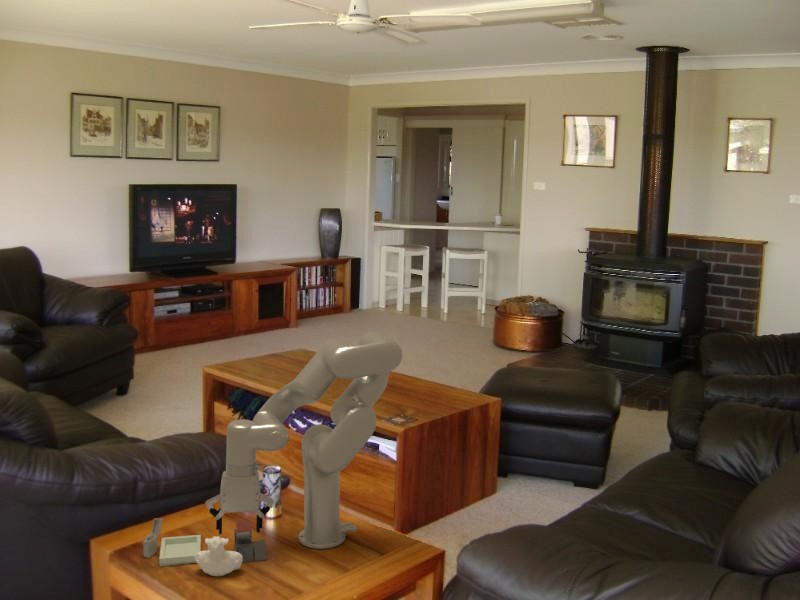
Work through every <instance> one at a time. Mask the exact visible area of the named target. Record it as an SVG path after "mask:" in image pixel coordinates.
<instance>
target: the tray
mask: <svg viewBox="0 0 800 600" xmlns="http://www.w3.org/2000/svg"><path fill="white" fill-rule="evenodd" d="M201 537H202V535H201V534H194V535H181V536H180V535H179V536H169V537H161V543H160V549H159V550H160V551H159V558H158V559H159V560H158V561H159V567H169V566H171V565H172V566H180V565H179V564H184V565H191V564H190V563H196V564H198V563H197V562H196V560H195V558H194V556H195V554H196V553H198V552H200V551H202V550H201V549H202V538H201ZM172 566H171V567H172Z"/></svg>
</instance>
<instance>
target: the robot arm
mask: <svg viewBox="0 0 800 600" xmlns="http://www.w3.org/2000/svg"><path fill="white" fill-rule="evenodd" d="M402 360H403V350H402V348H401V346H400V344H399V343H398V342H397V341H395V340H393V339H392V338H390V337H388V336H386V335H385V334H383V333H381V332H379V331H378V332H377V331H367V332H366V333H364V334H363V335H362V337H361V338H360V339H359V342H358V344H357V345H350V344H348V343H346V342H344V341H342V340H339V339H329V340H328V341H326V342H325V343H324V344H323V345H322V346H321V347H320V348H319V349H318V350H317V352H316V353H315V354H314V355H313V356H312V358H311V359H310V360H309V361H308V362H307V364H306V365H305V366H304V367H303V369H301V371H300V372H299V373H298V374H297V376H296V377H295V378H294V379H292V380H291V381H290V382H289V383H287V384H285V385H284V386H283V387H281V388H280V389H278V390H277V391H276V392H275V393H274V394H272V395H271V396H270V397H269V398H268V399H267V400H266V402H265V403H264V404H263V405H262V407H261V408H260V409H259V410H258V411H257V413H255V415H254V417H253V419H252V420H250V419H241V418H239V419H235V420H232V421H230V422H229V423H228V424H227V426H226V448H225V449H226V450H225V451H226V455H225V470H223V472H222V475H221V482H220V487H219V489H220V491H219V494H217V495H215V496H213V497H211V498H209V499H207V500H205V506H206V508H207V510H208V511H209V513H210V515H212V516H213V517H214V518H215V520H216V521H215V523H216V524H215V525H216V526H215V529H216V531H218V534H219V535H222V534H223V516H224V515H225V514H226V513H230V514H231V513H253V512H254V513H255V514H256V521H255V522H256V526H255V527H256V528H255V529H256V533H258V534H260V531H261V529H263V520H264V519H263V518H264V517H265V515H266V514H267V513H269V512H270V510H271V508H272V506H273V505H274V502H275V500H274V497H270V496H268V495H266V494H264V493H262V492H261V483H260V475H259V471H258V470H260V469H262V463H260V462H257V461H256V460H257V451H264V452H276V451H280V450H282V449H284V448H285V447H286V446H287V445H288V443H289V439H290V434H289V431H288V428H287V427H286V426H285V425H284V424H283V423H284V422H285V420H286V419H287V418H288V417H289V416H290V415H291V414H292V413H293V412H294V411H295V410H297V409H299V408H300V407H302V406H306V405H311V404H314V403H315V404H316V403H318V402H319V401H320V400H321V399H322V397H324V395H325V394H326V393H327V391H328V390H329V389H330V387H332V386H333V385H334V383H335V382H336V381H337V379H338V378H339V379H342V380H352V381H351V382H350V384H349V385H348V386H347V387H346V388H345V389H344V390H343V392H342V393H341V394H340V396H339V397H338V398H337V399H336V400H335V402H334V403H333V404H332V406H331V409H330V413H329V416H330V418H331V421H332V422H333V424H335V426H334V428H332V427H330V426H328V425H326V424H320V423H318V424H314V425H312V426H310V427H309V428H308V429H306V431H305V432H304V434H303V435H302V440H301V457H302V463H303V491H304V492H303V496H304V497H303V507H304V509H303V511H304V513H303V516H304V517H303V520H304V525H303V526H304V529H302V530H300V532H299V533H298V542H299V543H301V545H302V546H305V547H307V548H311V549H319V550H322V549H323V550H325V549H326V550H327V549H331V548H335V547H338V546H339V545H341V544H343V543H344V541H345V540H346V534H347V533H357V532H358V526H357V524H352V522H351V521H346V522H343V521H342V520H341V519H340V518H341V517H340V513H341V512H340V511H341V509H340V508H341V506H340V502H341V501H340V499H341V497H340V495H341V493H340V491H341V490H340V489H341V487H340V484H341V478H340V477H341V471H343V470H344V469H345V468H346V467H347V466H348V465H349V464H350V463H351V462H352V460H353V459H354V458H355V457H356V455H358V454H359V452H360V451H361V450H362V448H363V447H364V446H365V444H366V443H368V441H369V439H370V438H371V437H372V435H373V434H374V432H375V430H376V426H377V420H378V419H377V415H376V414H377V413H375V410H374V409H373V407H374V406H375V405H376V403H377V401H379V398H380V397H381V396H382V394H383V393H384V391H386V390H385V389H386V387H387V386H388V382H389V378H390V372H392V371H394V370H395V369H397V368H398V367H399V365H400V364H401V363H402ZM261 501H263V502H265V503H266V504H265V505H264V506H263V507H261ZM218 502H219V508H218V509H216V508H215V507H214V504H217V503H218Z"/></svg>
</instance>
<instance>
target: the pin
mask: <svg viewBox="0 0 800 600" xmlns="http://www.w3.org/2000/svg"><path fill="white" fill-rule="evenodd" d="M235 526H236V528H235V529H236V537H237V545H239V544H251V536H250V528H251V520H249V519H247V520H236V521H235Z"/></svg>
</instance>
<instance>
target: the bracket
mask: <svg viewBox="0 0 800 600" xmlns="http://www.w3.org/2000/svg"><path fill="white" fill-rule="evenodd" d="M233 532H234V547H235V548H234V551H236V552H238V553H240V554H241V555H242V557H243V561H242V563H252V562H253V563H254V561H255V562H261V561H268V556H267V549H266V547H267V546H266V542H265V539H258V540H253V539H252V537H253V536H252V528H251V527H250V536H251V544H239V545H237V537H236V528H235V529H234V531H233Z"/></svg>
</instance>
